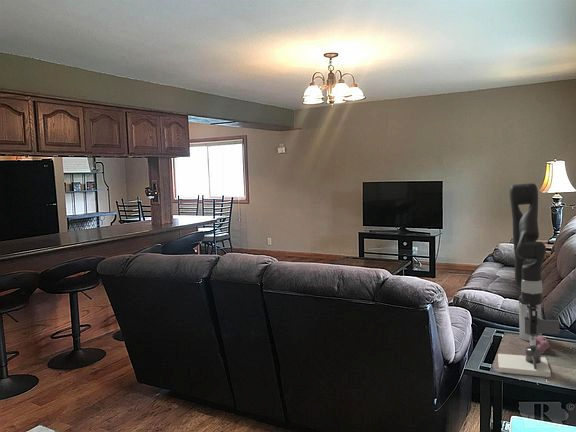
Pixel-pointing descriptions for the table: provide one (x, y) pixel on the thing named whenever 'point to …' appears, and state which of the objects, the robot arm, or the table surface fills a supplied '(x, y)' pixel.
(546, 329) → the grey rectangular block
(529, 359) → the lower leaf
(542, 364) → the board
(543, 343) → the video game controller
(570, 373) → the table surface
